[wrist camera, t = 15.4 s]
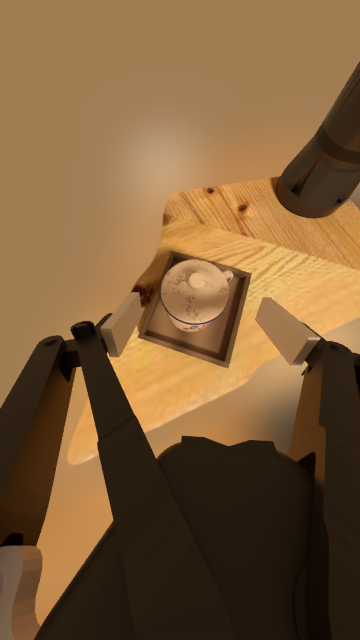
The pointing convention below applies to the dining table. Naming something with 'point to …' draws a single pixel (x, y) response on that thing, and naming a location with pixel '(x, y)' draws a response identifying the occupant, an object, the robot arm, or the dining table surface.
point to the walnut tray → (210, 340)
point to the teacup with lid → (195, 294)
